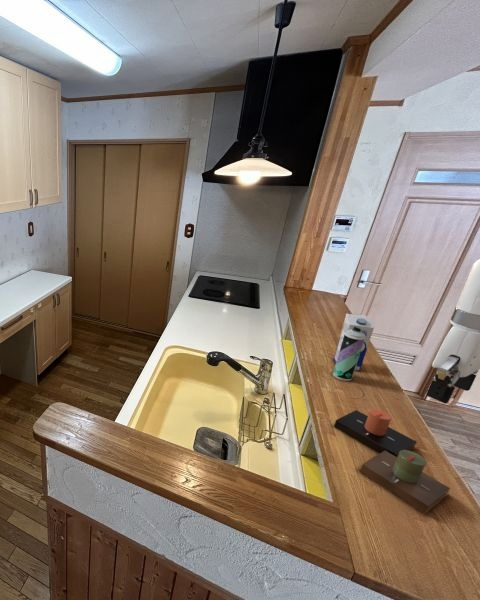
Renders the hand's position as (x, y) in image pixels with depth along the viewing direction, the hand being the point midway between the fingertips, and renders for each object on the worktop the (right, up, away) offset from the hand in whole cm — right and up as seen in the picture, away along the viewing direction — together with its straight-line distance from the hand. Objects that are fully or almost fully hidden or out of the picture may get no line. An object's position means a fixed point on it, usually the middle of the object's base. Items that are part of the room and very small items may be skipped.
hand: (447, 393), depth 69 cm
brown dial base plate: (-3, -23, +7) cm, 25 cm away
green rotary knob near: (-3, -21, +6) cm, 22 cm away
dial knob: (+2, -16, +20) cm, 25 cm away
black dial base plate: (+2, -18, +21) cm, 28 cm away
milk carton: (+24, -5, +55) cm, 60 cm away
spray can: (+16, -8, +48) cm, 51 cm away
